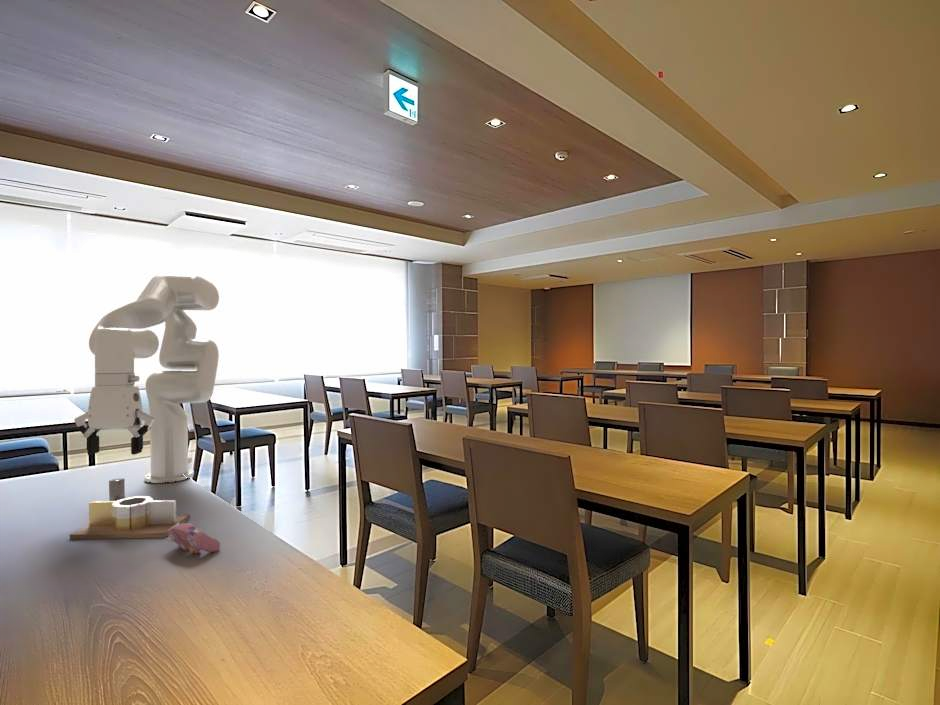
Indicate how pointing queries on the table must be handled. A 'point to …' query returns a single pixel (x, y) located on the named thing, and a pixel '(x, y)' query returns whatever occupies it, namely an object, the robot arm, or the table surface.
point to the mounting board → (126, 531)
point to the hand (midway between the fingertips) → (115, 453)
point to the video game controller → (192, 538)
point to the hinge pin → (116, 489)
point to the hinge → (132, 512)
